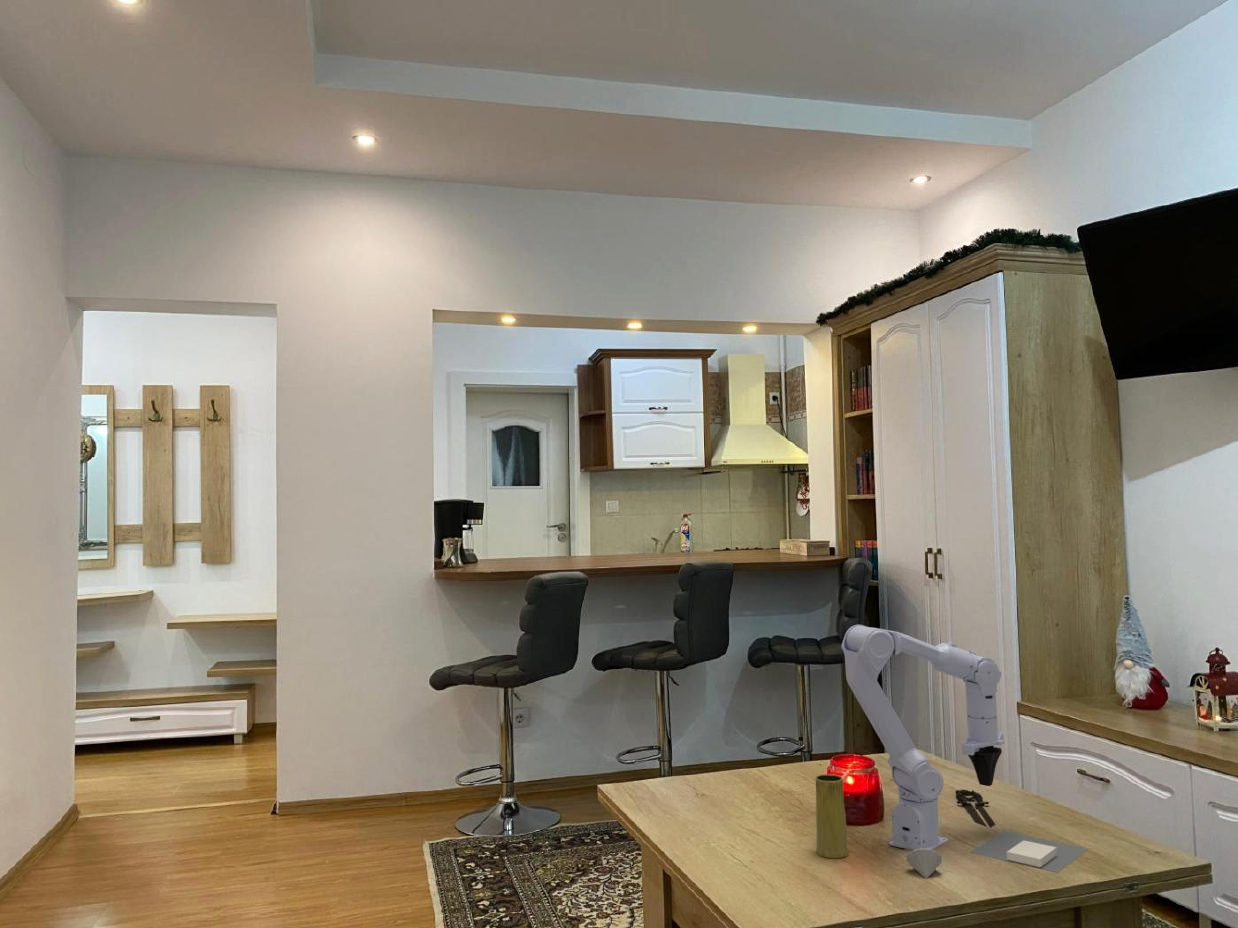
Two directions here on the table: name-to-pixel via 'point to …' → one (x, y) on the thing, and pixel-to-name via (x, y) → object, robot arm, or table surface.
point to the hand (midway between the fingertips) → (985, 784)
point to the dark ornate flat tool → (972, 811)
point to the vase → (830, 817)
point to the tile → (1031, 853)
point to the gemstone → (924, 861)
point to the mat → (1008, 840)
